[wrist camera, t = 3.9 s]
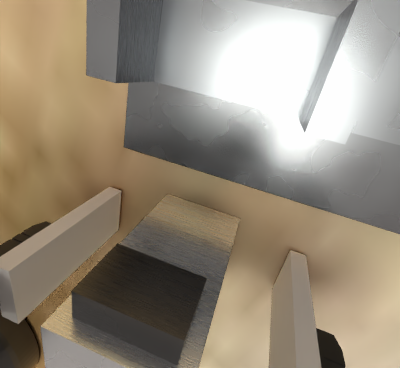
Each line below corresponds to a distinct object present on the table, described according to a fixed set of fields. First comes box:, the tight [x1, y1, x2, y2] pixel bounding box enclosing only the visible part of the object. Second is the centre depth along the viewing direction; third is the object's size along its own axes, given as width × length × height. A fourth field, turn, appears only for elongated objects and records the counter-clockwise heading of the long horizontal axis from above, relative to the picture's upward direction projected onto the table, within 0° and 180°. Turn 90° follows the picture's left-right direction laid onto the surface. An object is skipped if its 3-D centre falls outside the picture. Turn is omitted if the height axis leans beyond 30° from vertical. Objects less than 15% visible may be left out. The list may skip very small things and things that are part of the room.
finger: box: [40, 194, 240, 368], centre depth 10 cm, size 5×4×8 cm
